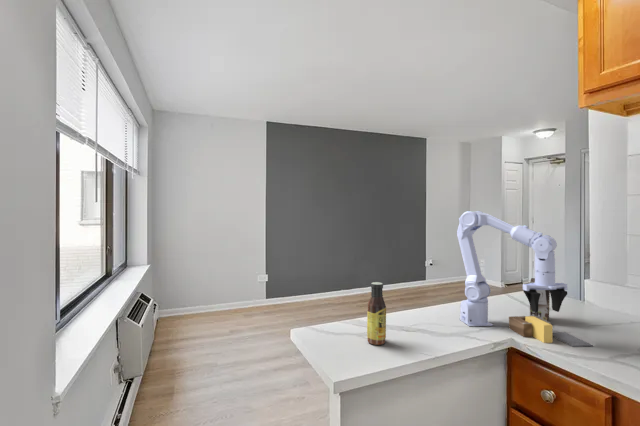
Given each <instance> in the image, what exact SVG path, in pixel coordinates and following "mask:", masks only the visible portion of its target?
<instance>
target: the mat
mask: <svg viewBox="0 0 640 426" xmlns="http://www.w3.org/2000/svg"><path fill="white" fill-rule="evenodd" d="M552 338H555V339H557V340H558V341H561V342H562V343H564V344H566V345H568V346H570V347H572V348H582V347H594V344H592V343H590V342H587V341H585V340H583V339H582V338H581V339H580V338H579V337H577V336H575V335H573V334H570V333H568V332H566V331H564V332H563V331H561V332H557V331H556V332H555V331H553V332H552Z"/></svg>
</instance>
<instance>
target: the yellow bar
mask: <svg viewBox="0 0 640 426" xmlns="http://www.w3.org/2000/svg"><path fill="white" fill-rule="evenodd" d="M525 321H527V322H529V323H532V337H531V338H534V339H535V340H537V341H540V342H542V343H543V344H550V343H551V344H553V337H552V332H554V331H553V328H554V327H553V325H552V323H551V324H549V323H547V322H545V321H542V320H540V319H538V318H536V317H534V316H530V315H527V316H525Z"/></svg>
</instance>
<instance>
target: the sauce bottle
mask: <svg viewBox="0 0 640 426" xmlns="http://www.w3.org/2000/svg"><path fill="white" fill-rule="evenodd" d="M370 288H371V291H370V292H371V294H370V295H371V296H370V298H369V299H368V301H367V313H366V314H367V316H366V318H367V319H366V333H367V334H366V337H367V338H366V339H367V342H368V343H369V344H370V345H374V346H381V345H384V344H385V342H386V338H387V306H386V303H385V299H384V297H383V296H384V295H383V288H384V284H383V282H379V281H375V282H374V281H373V282H371V283H370Z"/></svg>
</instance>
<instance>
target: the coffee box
mask: <svg viewBox="0 0 640 426" xmlns="http://www.w3.org/2000/svg"><path fill="white" fill-rule="evenodd" d="M529 282H530V283H535V277H533V278H532V277H531V279H530V281H529ZM530 283H529V284H530ZM536 291H537V293H540V294H541V295H540V298H539V302H538V312H533V311H532V310H531V307H530V306H529V316H535V317H538V318H540V319H542V320H544V321H546V322H550V303H551V302H550V299H551V294H550V291H549V290H536Z"/></svg>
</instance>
